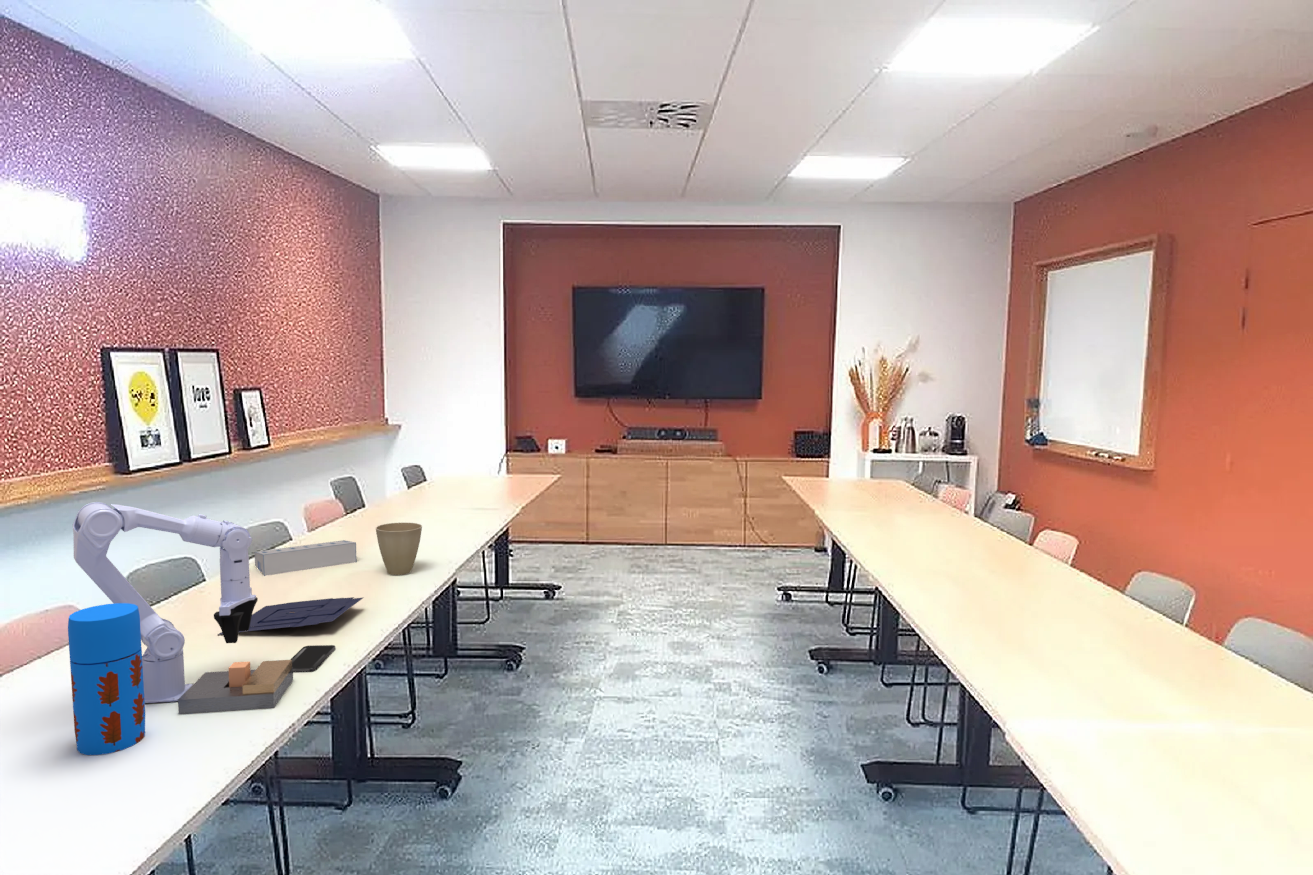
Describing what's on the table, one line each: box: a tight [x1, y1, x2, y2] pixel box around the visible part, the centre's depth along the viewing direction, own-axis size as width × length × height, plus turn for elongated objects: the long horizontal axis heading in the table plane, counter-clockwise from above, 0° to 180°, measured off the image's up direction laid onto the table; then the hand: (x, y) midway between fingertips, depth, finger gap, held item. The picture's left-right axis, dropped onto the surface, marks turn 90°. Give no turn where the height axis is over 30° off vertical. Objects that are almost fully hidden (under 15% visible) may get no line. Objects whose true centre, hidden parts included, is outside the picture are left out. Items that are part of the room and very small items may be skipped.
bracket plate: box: [177, 659, 294, 715], centre depth 163 cm, size 18×14×5 cm
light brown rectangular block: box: [228, 661, 252, 687], centre depth 163 cm, size 3×3×7 cm
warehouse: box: [254, 539, 357, 577], centre depth 269 cm, size 30×14×8 cm, turn 128°
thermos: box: [67, 603, 146, 756], centre depth 143 cm, size 11×11×25 cm
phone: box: [289, 644, 336, 674], centre depth 184 cm, size 8×1×15 cm
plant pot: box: [375, 522, 423, 576], centre depth 259 cm, size 15×15×16 cm
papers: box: [217, 597, 365, 635], centre depth 211 cm, size 24×30×4 cm
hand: (237, 636), depth 173 cm, fingers open, 7 cm apart
